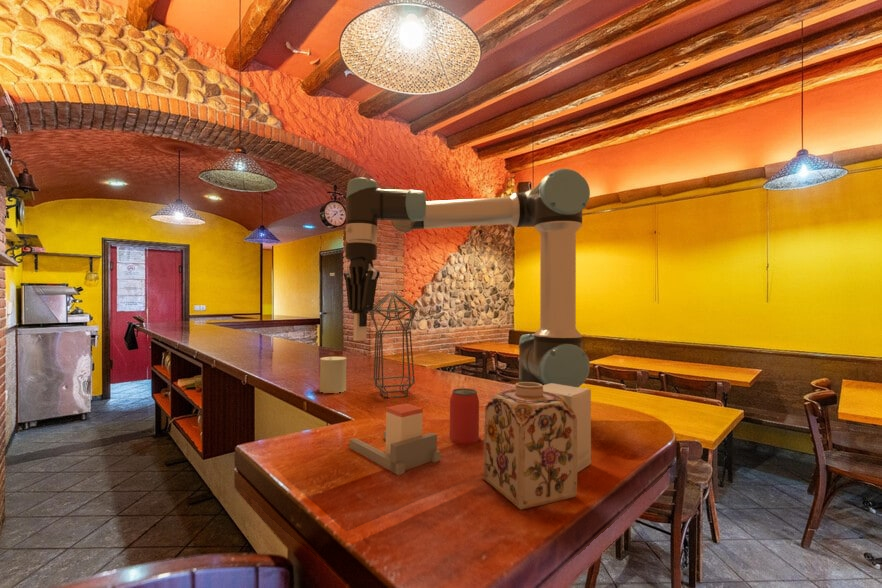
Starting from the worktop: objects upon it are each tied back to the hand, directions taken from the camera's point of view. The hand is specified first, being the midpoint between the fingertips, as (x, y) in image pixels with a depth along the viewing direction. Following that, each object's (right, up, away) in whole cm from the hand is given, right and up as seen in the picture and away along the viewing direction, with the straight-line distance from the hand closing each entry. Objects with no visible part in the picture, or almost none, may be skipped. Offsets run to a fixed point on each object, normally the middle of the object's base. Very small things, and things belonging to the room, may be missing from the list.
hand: (359, 340), depth 96 cm
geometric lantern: (+3, -24, +38) cm, 45 cm away
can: (-19, -23, +44) cm, 53 cm away
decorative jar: (+35, -23, -28) cm, 50 cm away
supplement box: (+44, -23, -18) cm, 52 cm away
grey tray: (+11, -22, -18) cm, 31 cm away
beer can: (+25, -23, -8) cm, 35 cm away
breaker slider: (+13, -21, -20) cm, 31 cm away
